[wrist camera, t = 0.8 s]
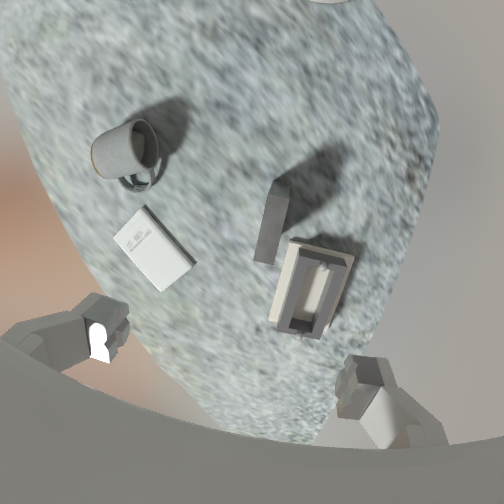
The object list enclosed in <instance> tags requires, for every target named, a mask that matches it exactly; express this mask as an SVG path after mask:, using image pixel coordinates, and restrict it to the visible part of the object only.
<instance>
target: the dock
mask: <svg viewBox="0 0 504 504" xmlns="http://www.w3.org/2000/svg"><path fill="white" fill-rule="evenodd" d="M353 261H354V256H353V255H350V254H346V253H342V252H338V251H334V250H330V249H326V248H321V247H317V246H313V245H309V244H305V243H301V242H297V241H293V240H289V244H288V248H287V252H286V256H285V259H284V263H283V267H282V271H281V274H280V278H279V282H278V285H277V289H276V293H275V296H274V300H273V303H272V307H271V310H270V314H269V318H268V320H269V321H273V322H278V323H277V331H280V332H284V333H289V334H294V335H296V339H297V340H302V338H303V337H308V338H313V339H318V340H320V337H321V335H322V333H323V332H325V333H326V332H327V329H328V327H329V324H330V322H331V319H332V317H333V315H334V312H335V310H336V307H337V304H338V302H339V299H340V297H341V294H342V291H343V289H344V286H345V283H346V281H347V278H348V275H349V273H350V270H351V267H352V264H353Z"/></svg>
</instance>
